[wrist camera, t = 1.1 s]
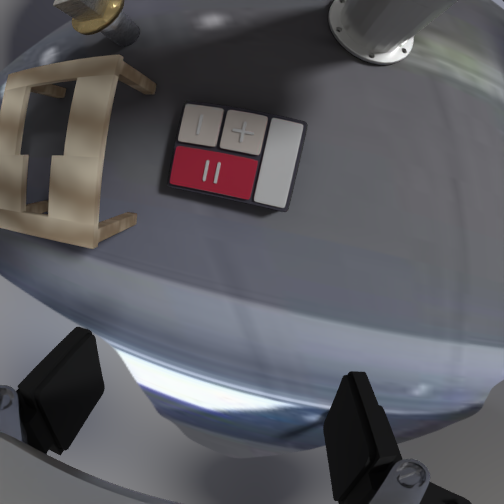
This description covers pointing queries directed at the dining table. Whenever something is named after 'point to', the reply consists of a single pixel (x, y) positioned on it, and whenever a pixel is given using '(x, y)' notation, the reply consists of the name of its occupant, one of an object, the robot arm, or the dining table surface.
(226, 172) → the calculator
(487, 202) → the dining table surface
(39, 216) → the shelf
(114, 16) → the peg
